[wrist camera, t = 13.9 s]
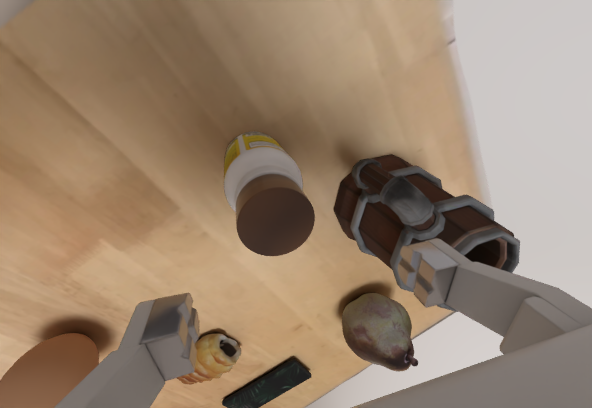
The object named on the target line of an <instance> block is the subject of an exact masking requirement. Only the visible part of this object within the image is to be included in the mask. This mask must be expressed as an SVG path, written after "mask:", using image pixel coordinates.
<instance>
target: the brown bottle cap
mask: <svg viewBox="0 0 592 408" xmlns="http://www.w3.org/2000/svg"><path fill="white" fill-rule="evenodd" d="M314 220H315V215H314V210H313V207H312V205H311V203H310V201H309V200H308V198H307V197H306V196H305V194H304V193H303V191H302V190H301V189H300V187H299V186H298V185H297V184H296V182H294V181H293V180H292V179H290V178H288V177H286V176H283V175H279V174H266V175H262V176H259V177H256V178H254V179H253V180H251V181H250V182H248V183H247V184H246V185H245V186H244V187H243V188H242V190H241V191H240V193H239V195H238V197H237V200H236V224H237V232H238V235H239V238H240V240H241V241H242V243H243V244H244V245H245V246H246V247H247V248H248V249H250V250H251V251H253V252H255V253H257V254H260V255H265V256H279V255H283V254H287V253H289V252H291V251H293V250H295V249H297V248H298V247H300V246H301V245H302V244H303V243H304V242H305V241H306V240H307V238H308V237H309V235H310V234H311V232H312V229H313V226H314Z"/></svg>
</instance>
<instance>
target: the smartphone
mask: <svg viewBox="0 0 592 408" xmlns="http://www.w3.org/2000/svg"><path fill="white" fill-rule="evenodd" d="M310 377H311V373H310V372H309V371H307V370H306V369H305V368H304V367H303V366H302V365H301V364H299V363H298V362H297V361H296V360H295V359H292V360H291V361H289V362H286V363H284V364H282V365H280V366H279V367H277V369H275V370H274V371H272V372H270V373H268V374H267V375H265V376H263V377H262V378H260V379H258V380H256V381H255V382H253V383H251V384H250V385H248V386H246V387H245V388H243V389H241V390H239V391H238V392H236V393H234V394H233V395H231V396H229V397H227V398H226V399H224V400H223V401H222V405H224V406H226V407H227V408H259V407H261V406H262V405H264V404H266V403H267V402H269V401H271V400H273V399H274V398H276V397H278V396H280V395H281V394H283V393H285V392H286V391H288V390H290V389H292V388H293V387H295V386H297V385H299V384H300V383H302V382H304V381H305V380H307V379H309V378H310Z"/></svg>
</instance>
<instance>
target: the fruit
mask: <svg viewBox="0 0 592 408" xmlns="http://www.w3.org/2000/svg"><path fill="white" fill-rule="evenodd" d="M342 327H343V335H344V338H345V340H346V343H347V344H348V346H349V347H350V348H351V350H352V351H353V352H354V353H355V354H356V355H357V356H359V357H360V358H362V359H363V360H366V361H368V362H371V363H373V364H377V365H381V366H384V367H386V368H389V369H391V370H394V371H404V370H407V369H408V368H409V367H410V365H411V364H412V365H413V366H417V365H418V361H417V360H416V359H415V358H413V356H414V349H413V344H412V341H411V338H410V335H411V328H412V325H411V320H410V317H409V315H408V313H407V311H406V309H405V308H404V307H403V306H402V305H401V304H400V303H398V302H396V301H394V300H392V299H390V298H388V297H386V296H383V295H381V294H378V293H367V294H363V295H361V296H360V297H359V298H358V299H356V300H354V301H352V302H350V303H349V304H348V305H347V306H346V307H345V309H344V311H343V315H342Z"/></svg>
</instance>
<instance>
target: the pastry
mask: <svg viewBox="0 0 592 408" xmlns="http://www.w3.org/2000/svg"><path fill="white" fill-rule="evenodd" d="M194 345H195V347H196V350H197V356H196V363H195V371H194V372H193V373H190V374H187V375H184V376H180V377H177V379H179V380H180V381H181V382H182V383H184V384H194V383H197V382H200V383H202V382H203V381H208V380H209V381H210V380H212V379H213V378H220V377H221V375H222V374H223V373H226V372H229V371H230V370H231V369H232V367H233V365H234V364H235V363H236V361H237V360H238V359H239V356H240V355H241V348H240V347H239V345H238V343H237V342H236V341H235V340H233V339H230V338H227V337H226V336H225V335H223V334H219V333H218V334H208V335H206V336H203V337H202V338H201V339H200V340H198V341H196V343H195V344H194Z"/></svg>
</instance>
